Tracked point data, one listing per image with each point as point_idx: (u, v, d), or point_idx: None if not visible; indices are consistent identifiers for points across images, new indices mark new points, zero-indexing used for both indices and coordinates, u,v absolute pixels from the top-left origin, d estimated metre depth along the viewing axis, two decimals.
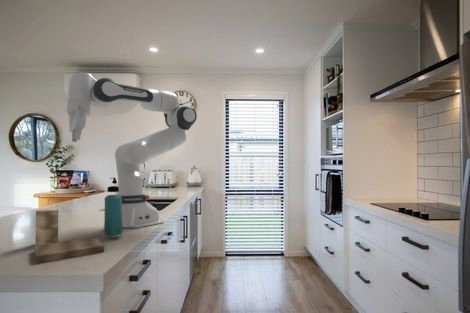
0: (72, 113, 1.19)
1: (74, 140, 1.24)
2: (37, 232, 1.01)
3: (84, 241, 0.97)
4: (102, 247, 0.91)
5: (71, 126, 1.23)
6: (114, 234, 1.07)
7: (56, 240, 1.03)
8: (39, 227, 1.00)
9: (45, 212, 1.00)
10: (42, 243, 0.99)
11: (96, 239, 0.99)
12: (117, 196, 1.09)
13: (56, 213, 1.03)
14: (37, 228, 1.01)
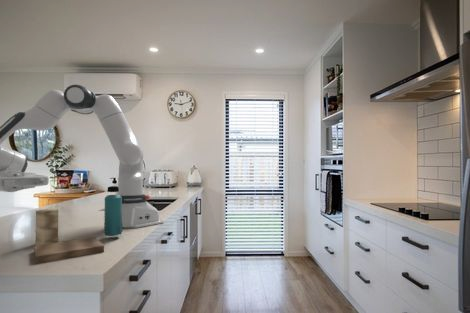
0: (8, 187, 1.12)
1: (40, 181, 1.12)
2: (37, 232, 1.01)
3: (84, 241, 0.97)
4: (102, 247, 0.91)
5: (29, 185, 1.14)
6: (114, 234, 1.07)
7: (56, 240, 1.03)
8: (39, 227, 1.00)
9: (45, 212, 1.00)
10: (42, 243, 0.99)
11: (96, 239, 0.99)
12: (117, 196, 1.09)
13: (56, 213, 1.03)
14: (37, 228, 1.01)
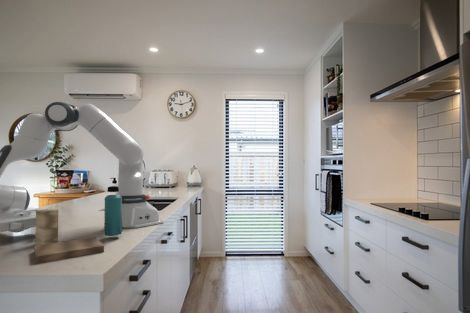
0: None
1: None
2: (37, 232, 1.01)
3: (84, 241, 0.97)
4: (102, 247, 0.91)
5: None
6: (114, 234, 1.07)
7: (56, 240, 1.03)
8: (39, 227, 1.00)
9: (45, 212, 1.00)
10: (42, 243, 0.99)
11: (96, 239, 0.99)
12: (117, 196, 1.09)
13: (56, 213, 1.03)
14: (37, 228, 1.01)
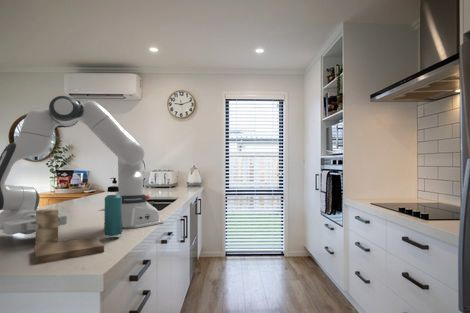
0: None
1: None
2: (37, 232, 1.01)
3: (84, 241, 0.97)
4: (102, 247, 0.91)
5: None
6: (114, 234, 1.07)
7: (56, 240, 1.03)
8: None
9: (45, 212, 1.00)
10: (42, 243, 0.99)
11: (96, 239, 0.99)
12: (117, 196, 1.09)
13: (56, 213, 1.03)
14: None
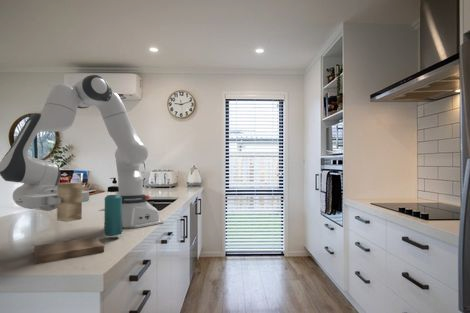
0: (45, 205, 0.95)
1: None
2: (59, 207, 0.90)
3: (84, 241, 0.97)
4: (102, 247, 0.91)
5: None
6: (114, 234, 1.07)
7: (80, 216, 0.93)
8: None
9: (68, 184, 0.89)
10: (65, 219, 0.89)
11: (96, 239, 0.99)
12: (117, 196, 1.09)
13: (80, 186, 0.93)
14: None
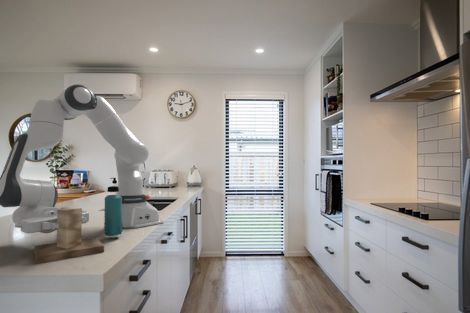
0: None
1: None
2: (59, 233, 0.90)
3: (84, 241, 0.97)
4: (102, 247, 0.91)
5: None
6: (114, 234, 1.07)
7: (79, 242, 0.92)
8: (61, 228, 0.90)
9: (68, 211, 0.89)
10: (65, 245, 0.89)
11: (96, 239, 0.99)
12: (117, 196, 1.09)
13: (79, 212, 0.93)
14: (59, 229, 0.90)
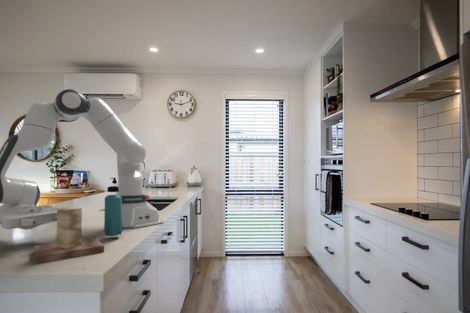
0: (24, 225, 1.01)
1: None
2: (59, 233, 0.90)
3: (84, 241, 0.97)
4: (102, 247, 0.91)
5: None
6: (114, 234, 1.07)
7: (79, 242, 0.92)
8: (61, 228, 0.90)
9: (68, 211, 0.89)
10: (65, 245, 0.89)
11: (96, 239, 0.99)
12: (117, 196, 1.09)
13: (79, 212, 0.93)
14: (59, 229, 0.90)
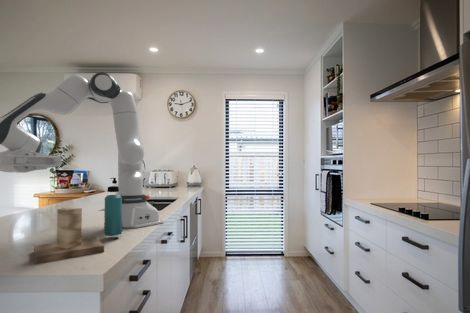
0: (19, 167, 1.06)
1: (53, 161, 1.06)
2: (59, 233, 0.90)
3: (84, 241, 0.97)
4: (102, 247, 0.91)
5: (42, 165, 1.08)
6: (114, 234, 1.07)
7: (79, 242, 0.92)
8: (61, 228, 0.90)
9: (68, 211, 0.89)
10: (65, 245, 0.89)
11: (96, 239, 0.99)
12: (117, 196, 1.09)
13: (79, 212, 0.93)
14: (59, 229, 0.90)
